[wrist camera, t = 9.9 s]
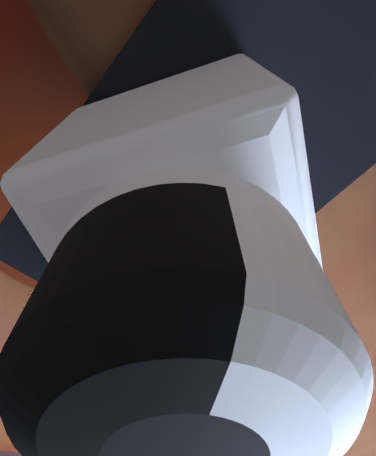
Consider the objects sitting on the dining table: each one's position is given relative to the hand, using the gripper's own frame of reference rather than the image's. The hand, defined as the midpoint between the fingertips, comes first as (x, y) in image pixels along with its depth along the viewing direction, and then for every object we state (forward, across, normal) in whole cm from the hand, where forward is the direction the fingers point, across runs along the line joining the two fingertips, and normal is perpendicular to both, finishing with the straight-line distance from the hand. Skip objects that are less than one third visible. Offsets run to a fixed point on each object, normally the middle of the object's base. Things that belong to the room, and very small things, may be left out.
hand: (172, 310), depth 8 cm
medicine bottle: (+9, 0, 0) cm, 9 cm away
